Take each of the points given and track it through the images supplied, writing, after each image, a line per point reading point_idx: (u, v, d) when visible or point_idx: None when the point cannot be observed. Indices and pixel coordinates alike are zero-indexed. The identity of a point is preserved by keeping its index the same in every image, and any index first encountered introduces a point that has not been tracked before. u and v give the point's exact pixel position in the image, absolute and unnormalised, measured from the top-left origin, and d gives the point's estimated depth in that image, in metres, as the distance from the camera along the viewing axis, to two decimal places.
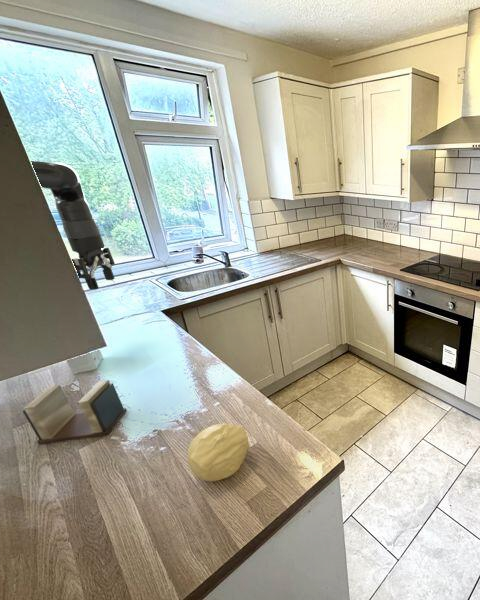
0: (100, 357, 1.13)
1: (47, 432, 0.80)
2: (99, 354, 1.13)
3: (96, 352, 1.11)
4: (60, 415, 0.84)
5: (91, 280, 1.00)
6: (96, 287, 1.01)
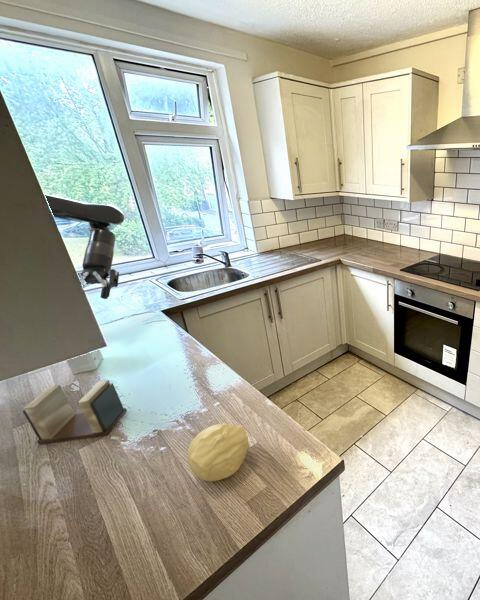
0: (100, 357, 1.13)
1: (47, 432, 0.80)
2: (99, 354, 1.13)
3: (96, 352, 1.11)
4: (60, 415, 0.84)
5: None
6: (107, 297, 1.14)
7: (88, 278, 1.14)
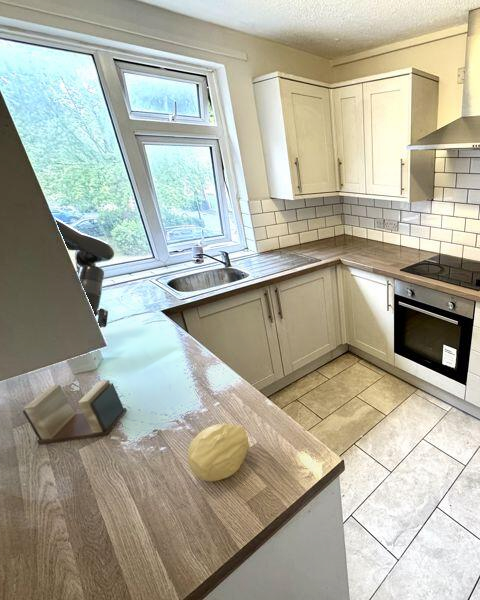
0: (100, 357, 1.13)
1: (47, 432, 0.80)
2: (99, 354, 1.13)
3: (96, 352, 1.11)
4: (60, 415, 0.84)
5: None
6: None
7: None
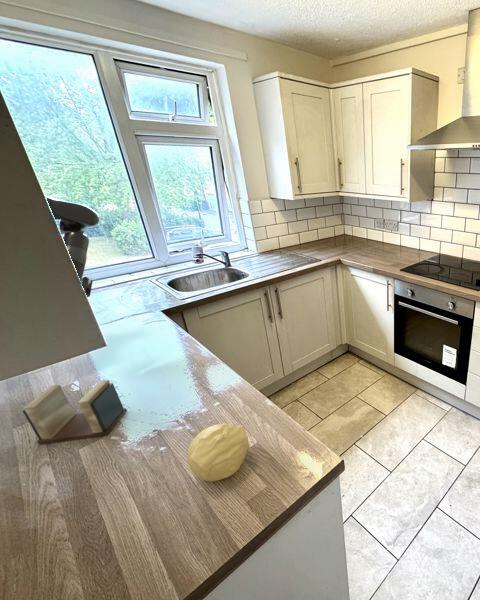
0: None
1: (47, 432, 0.80)
2: None
3: None
4: (60, 415, 0.84)
5: None
6: None
7: None
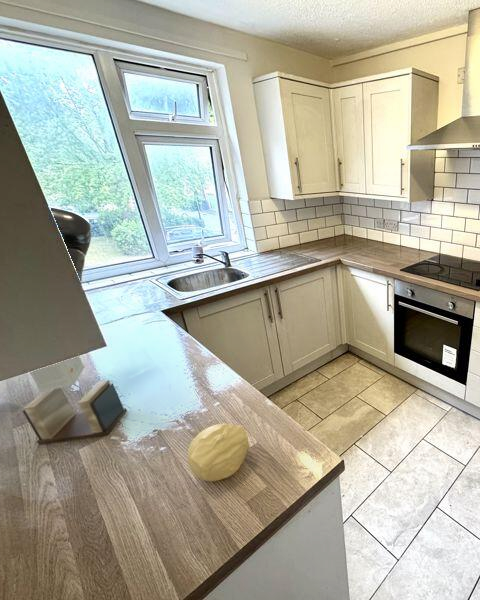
0: (80, 367, 0.83)
1: (47, 432, 0.80)
2: (79, 363, 0.83)
3: (74, 361, 0.81)
4: (60, 415, 0.84)
5: None
6: None
7: None
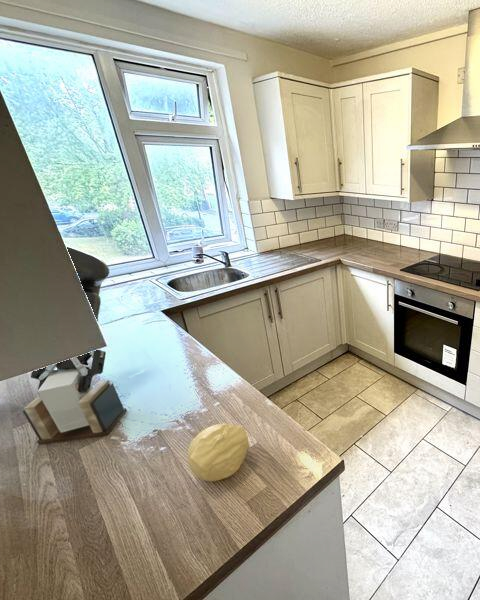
0: None
1: (47, 432, 0.80)
2: None
3: None
4: None
5: None
6: (86, 390, 0.82)
7: (61, 363, 0.81)
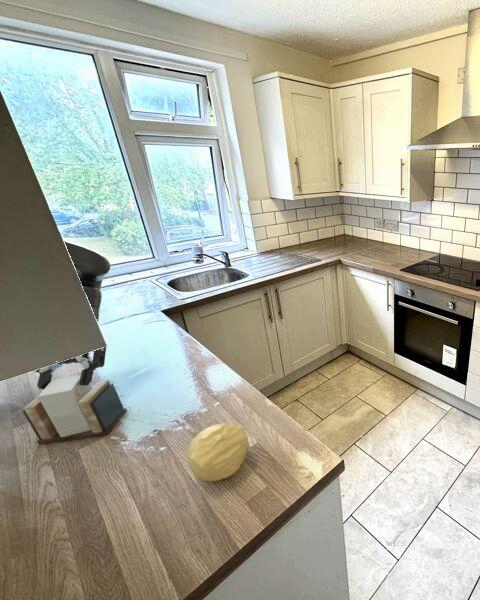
0: None
1: (47, 432, 0.80)
2: None
3: None
4: None
5: None
6: (88, 383, 0.82)
7: None
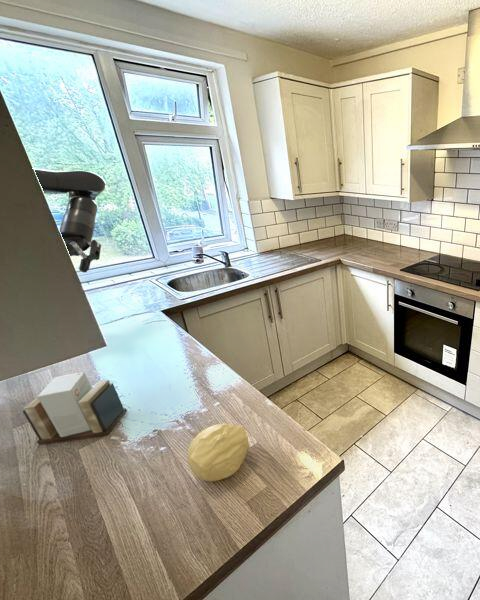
0: None
1: (47, 432, 0.80)
2: None
3: None
4: None
5: None
6: (86, 270, 1.02)
7: None
